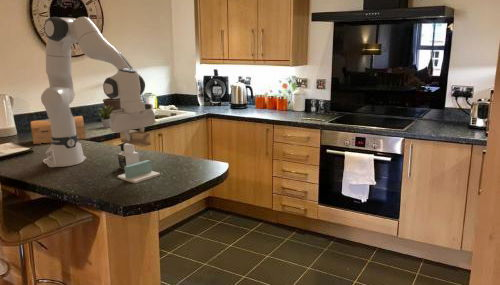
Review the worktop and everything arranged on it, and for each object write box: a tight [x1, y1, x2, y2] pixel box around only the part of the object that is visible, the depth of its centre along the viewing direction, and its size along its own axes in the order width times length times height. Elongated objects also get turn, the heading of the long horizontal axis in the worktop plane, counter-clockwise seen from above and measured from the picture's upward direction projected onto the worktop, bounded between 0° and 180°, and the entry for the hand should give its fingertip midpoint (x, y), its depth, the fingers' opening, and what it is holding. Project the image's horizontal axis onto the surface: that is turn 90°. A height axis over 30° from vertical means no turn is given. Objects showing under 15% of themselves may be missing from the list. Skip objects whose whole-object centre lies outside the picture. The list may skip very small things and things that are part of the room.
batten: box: [119, 129, 152, 148], centre depth 181 cm, size 4×16×5 cm, turn 50°
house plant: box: [97, 104, 115, 129], centre depth 298 cm, size 14×14×16 cm
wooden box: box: [30, 115, 87, 145], centre depth 265 cm, size 30×16×14 cm, turn 114°
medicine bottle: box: [117, 142, 140, 171], centre depth 198 cm, size 7×7×12 cm
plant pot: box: [102, 97, 121, 118], centre depth 331 cm, size 16×16×16 cm
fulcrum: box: [117, 159, 161, 184], centre depth 184 cm, size 13×13×6 cm
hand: (135, 139), depth 181 cm, fingers closed on batten, 4 cm apart
